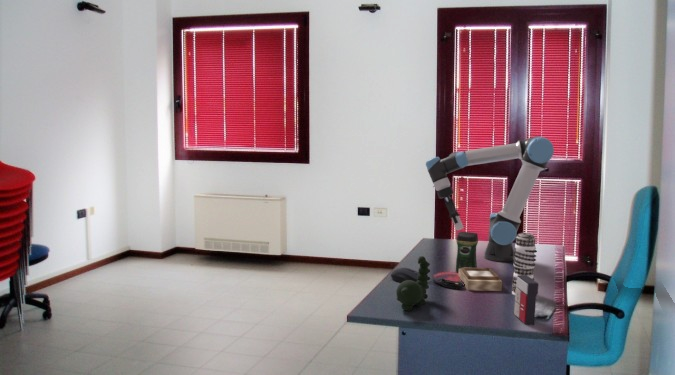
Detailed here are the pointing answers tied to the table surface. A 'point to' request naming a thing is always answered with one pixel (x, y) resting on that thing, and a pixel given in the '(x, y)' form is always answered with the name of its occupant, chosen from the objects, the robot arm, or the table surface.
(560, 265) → the table surface
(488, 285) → the light brown wooden box
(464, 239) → the coffee jar
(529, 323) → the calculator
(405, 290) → the toy figurine
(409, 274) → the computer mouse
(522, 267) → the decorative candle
